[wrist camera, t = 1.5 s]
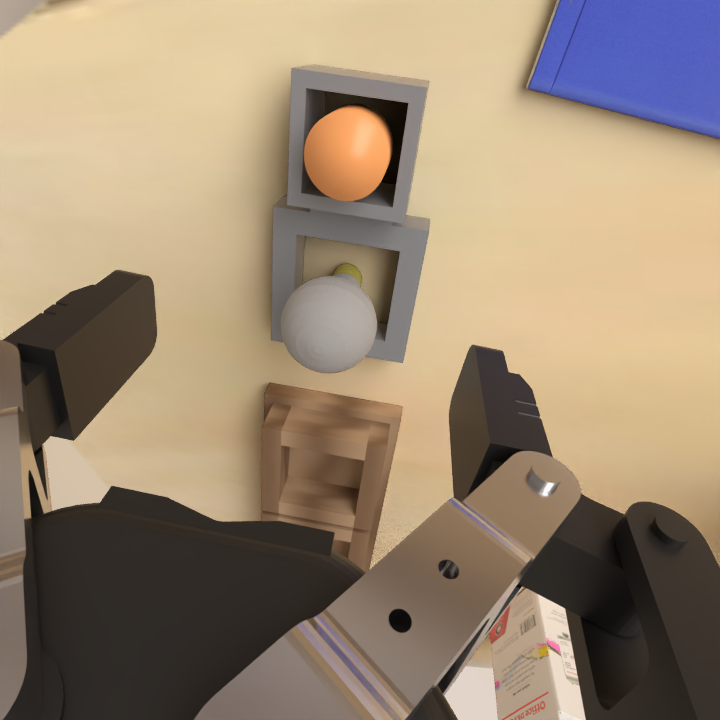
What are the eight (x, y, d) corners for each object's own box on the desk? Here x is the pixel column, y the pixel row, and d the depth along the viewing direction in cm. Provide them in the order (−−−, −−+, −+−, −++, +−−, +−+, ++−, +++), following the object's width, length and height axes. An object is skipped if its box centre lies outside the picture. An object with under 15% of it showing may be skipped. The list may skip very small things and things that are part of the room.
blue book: (879, -48, 21) (603, -120, 21) (755, 148, 26) (528, 89, 26) (853, -43, 23) (593, -110, 23) (740, 143, 27) (523, 87, 27)
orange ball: (398, 109, 25) (393, 118, 22) (387, 189, 27) (380, 207, 24) (321, 98, 25) (306, 105, 22) (316, 178, 27) (301, 194, 24)
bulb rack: (402, 406, 39) (398, 444, 36) (369, 562, 51) (364, 603, 47) (269, 382, 40) (252, 417, 36) (267, 541, 52) (253, 580, 48)
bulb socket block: (456, 84, 27) (459, 92, 23) (405, 344, 36) (400, 383, 32) (288, 61, 27) (260, 63, 23) (280, 323, 37) (260, 358, 33)
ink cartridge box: (526, 633, 54) (551, 805, 42) (487, 617, 53) (501, 787, 41) (576, 597, 49) (621, 778, 37) (534, 579, 49) (566, 758, 37)
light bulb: (317, 312, 36) (280, 392, 27) (304, 240, 33) (258, 305, 25) (391, 309, 35) (375, 391, 26) (384, 234, 32) (364, 300, 24)
